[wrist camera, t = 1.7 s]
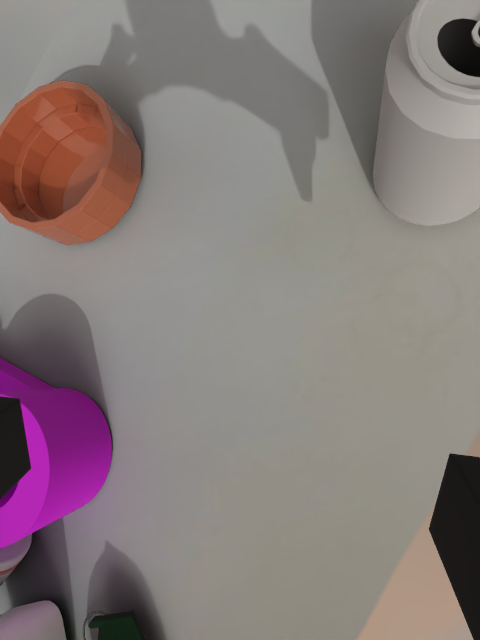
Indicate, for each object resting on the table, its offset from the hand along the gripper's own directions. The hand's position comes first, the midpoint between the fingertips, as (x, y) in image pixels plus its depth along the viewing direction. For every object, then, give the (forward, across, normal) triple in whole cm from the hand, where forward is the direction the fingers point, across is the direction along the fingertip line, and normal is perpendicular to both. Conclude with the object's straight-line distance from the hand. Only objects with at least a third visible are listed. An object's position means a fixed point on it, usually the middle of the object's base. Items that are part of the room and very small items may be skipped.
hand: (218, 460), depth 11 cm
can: (+19, +10, +10) cm, 24 cm away
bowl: (+24, -17, +8) cm, 31 cm away
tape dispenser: (+15, -19, -12) cm, 27 cm away
